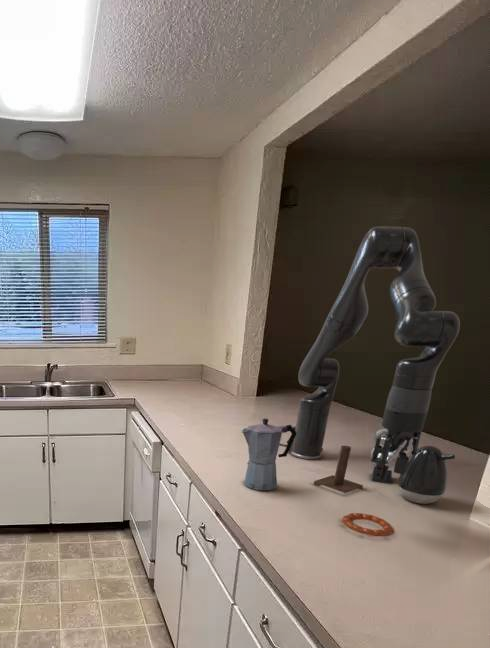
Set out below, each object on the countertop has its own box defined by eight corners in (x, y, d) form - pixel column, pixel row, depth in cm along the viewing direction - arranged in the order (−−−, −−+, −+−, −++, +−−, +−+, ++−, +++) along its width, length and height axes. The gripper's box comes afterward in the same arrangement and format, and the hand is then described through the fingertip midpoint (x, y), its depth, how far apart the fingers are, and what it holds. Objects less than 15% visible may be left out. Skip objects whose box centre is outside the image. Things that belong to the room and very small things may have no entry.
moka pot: (229, 479, 131) (236, 415, 124) (278, 478, 132) (288, 413, 125) (242, 492, 122) (251, 423, 115) (295, 490, 123) (307, 422, 116)
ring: (332, 524, 104) (334, 518, 103) (356, 515, 109) (358, 508, 108) (376, 543, 96) (378, 536, 95) (400, 532, 100) (402, 525, 100)
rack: (313, 484, 127) (321, 445, 123) (332, 478, 131) (339, 440, 127) (343, 495, 119) (352, 454, 115) (362, 489, 124) (371, 448, 119)
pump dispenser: (428, 511, 110) (445, 455, 105) (386, 496, 119) (399, 443, 114) (449, 503, 115) (466, 449, 109) (407, 489, 123) (421, 438, 118)
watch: (397, 484, 126) (406, 449, 123) (365, 479, 130) (373, 444, 127) (396, 478, 131) (405, 444, 127) (365, 473, 135) (373, 439, 131)
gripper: (404, 401, 101) (388, 466, 106) (370, 408, 94) (355, 477, 99) (442, 407, 95) (423, 476, 100) (408, 415, 88) (390, 488, 93)
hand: (389, 476), depth 100 cm, fingers open, 8 cm apart
